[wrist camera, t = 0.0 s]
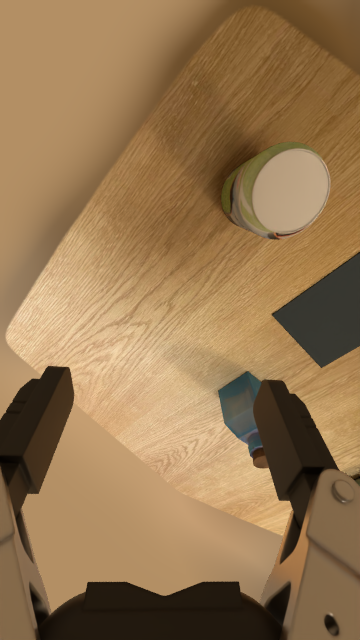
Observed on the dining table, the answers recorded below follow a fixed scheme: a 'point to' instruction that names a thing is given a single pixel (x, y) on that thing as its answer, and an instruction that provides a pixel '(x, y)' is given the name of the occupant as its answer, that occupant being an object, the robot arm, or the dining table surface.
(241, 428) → the perfume bottle
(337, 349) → the mat
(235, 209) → the beverage can
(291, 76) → the dining table surface
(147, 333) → the dining table surface
